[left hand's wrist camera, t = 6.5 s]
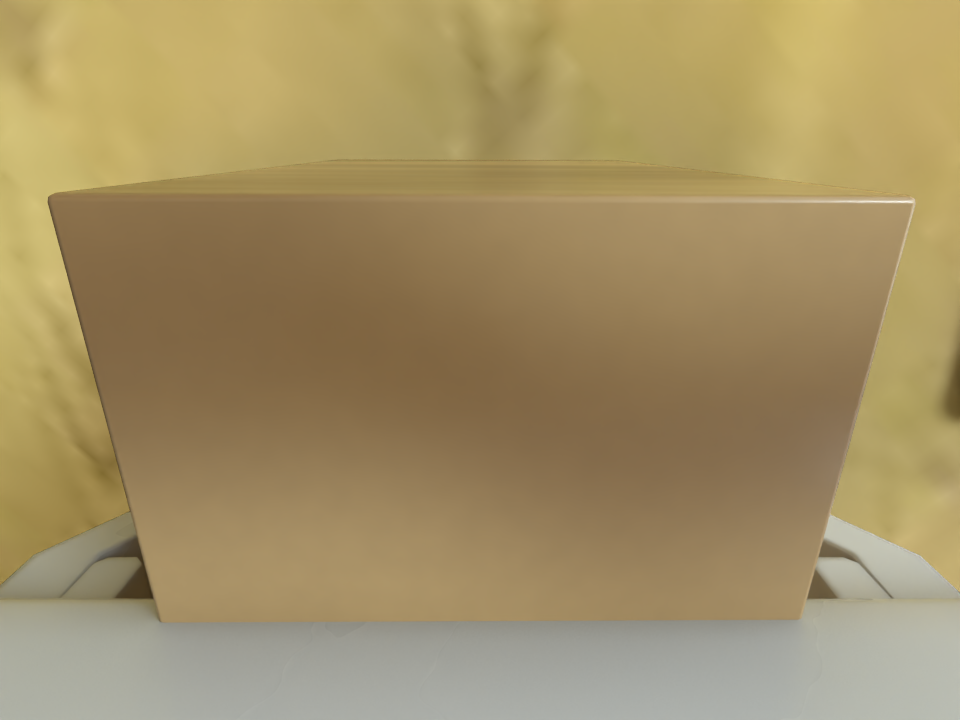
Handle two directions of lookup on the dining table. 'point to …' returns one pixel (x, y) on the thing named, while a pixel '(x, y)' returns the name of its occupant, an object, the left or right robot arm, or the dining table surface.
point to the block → (480, 384)
